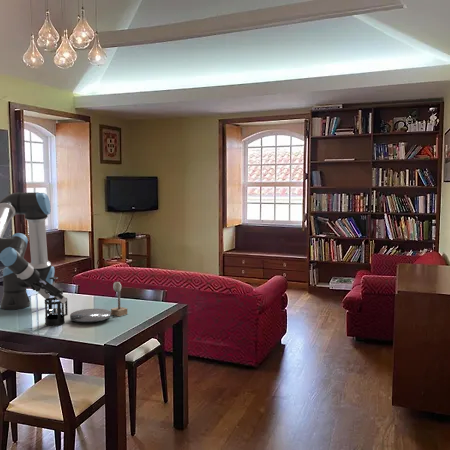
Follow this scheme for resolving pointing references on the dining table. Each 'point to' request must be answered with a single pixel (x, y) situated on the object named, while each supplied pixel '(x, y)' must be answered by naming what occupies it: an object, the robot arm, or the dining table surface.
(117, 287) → the dial gauge stand
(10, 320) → the dining table surface
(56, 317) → the french press
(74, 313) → the disc
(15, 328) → the dining table surface
